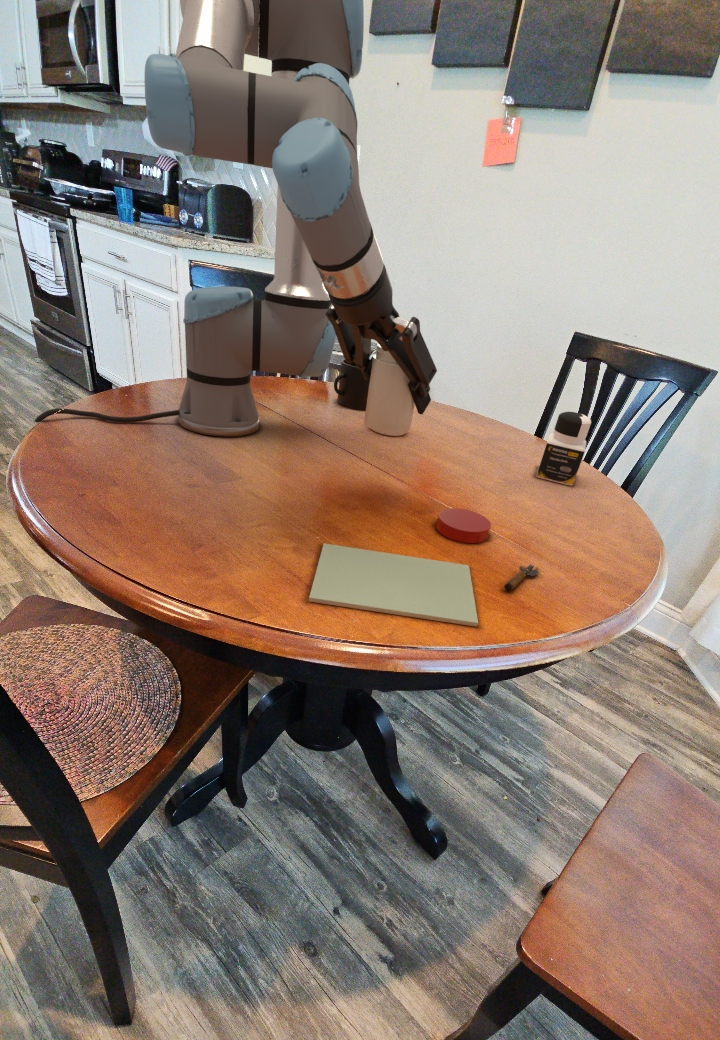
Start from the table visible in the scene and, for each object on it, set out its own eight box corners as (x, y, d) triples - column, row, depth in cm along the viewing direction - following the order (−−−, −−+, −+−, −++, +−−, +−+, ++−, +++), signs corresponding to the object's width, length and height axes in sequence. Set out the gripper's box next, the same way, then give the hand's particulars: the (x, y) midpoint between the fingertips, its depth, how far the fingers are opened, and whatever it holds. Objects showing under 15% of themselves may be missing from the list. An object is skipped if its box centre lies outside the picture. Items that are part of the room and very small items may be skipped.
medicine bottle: (535, 477, 114) (555, 414, 107) (539, 466, 119) (558, 406, 112) (572, 486, 112) (595, 423, 105) (574, 475, 118) (596, 414, 111)
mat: (308, 601, 68) (309, 597, 68) (323, 546, 80) (323, 542, 79) (477, 627, 69) (478, 622, 68) (468, 568, 80) (469, 565, 80)
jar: (362, 429, 88) (373, 348, 81) (365, 416, 93) (375, 339, 87) (410, 436, 88) (424, 356, 81) (410, 423, 94) (423, 347, 87)
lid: (498, 536, 90) (501, 525, 89) (464, 547, 85) (467, 536, 84) (459, 515, 94) (462, 504, 93) (425, 525, 90) (428, 513, 88)
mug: (320, 400, 138) (324, 358, 133) (360, 397, 145) (365, 358, 139) (343, 412, 132) (348, 369, 127) (384, 409, 139) (390, 368, 134)
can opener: (510, 593, 76) (512, 585, 75) (494, 585, 77) (497, 577, 76) (541, 572, 82) (544, 565, 81) (527, 565, 83) (529, 558, 82)
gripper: (276, 286, 74) (339, 402, 95) (409, 319, 66) (447, 438, 87) (306, 239, 75) (363, 364, 95) (442, 265, 66) (471, 396, 87)
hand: (403, 399), depth 91 cm, fingers closed on jar, 7 cm apart
